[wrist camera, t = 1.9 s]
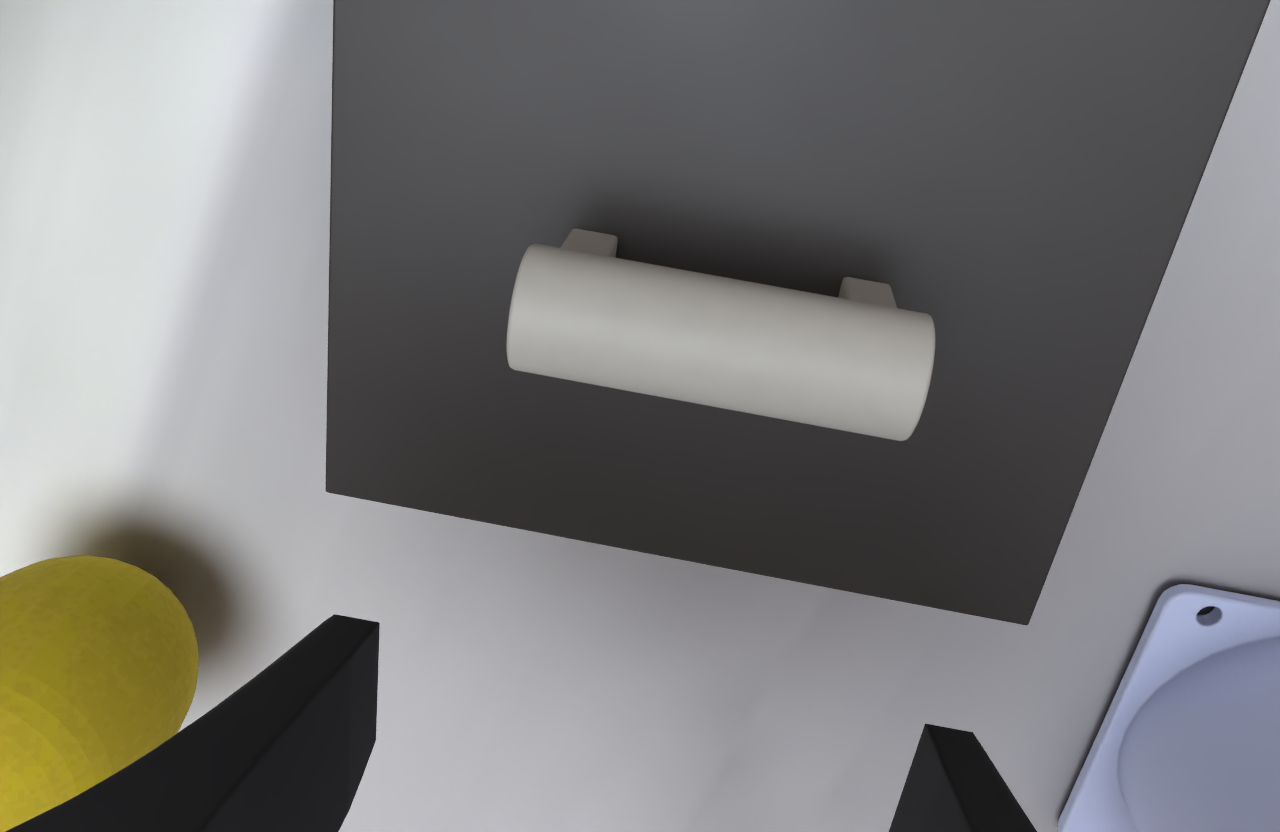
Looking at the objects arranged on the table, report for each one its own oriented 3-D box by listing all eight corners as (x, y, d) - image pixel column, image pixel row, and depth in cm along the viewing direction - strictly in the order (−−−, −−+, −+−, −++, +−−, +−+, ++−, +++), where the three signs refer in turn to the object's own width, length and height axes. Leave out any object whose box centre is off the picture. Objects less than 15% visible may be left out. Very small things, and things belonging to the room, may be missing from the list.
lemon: (271, 678, 28) (99, 941, 21) (79, 670, 29) (-152, 922, 21) (227, 498, 26) (15, 724, 18) (19, 494, 26) (-264, 711, 19)
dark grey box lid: (359, -371, 13) (195, -485, 9) (1331, -219, 13) (1562, -277, 9) (339, 473, 18) (231, 611, 15) (1019, 602, 18) (1083, 778, 14)
